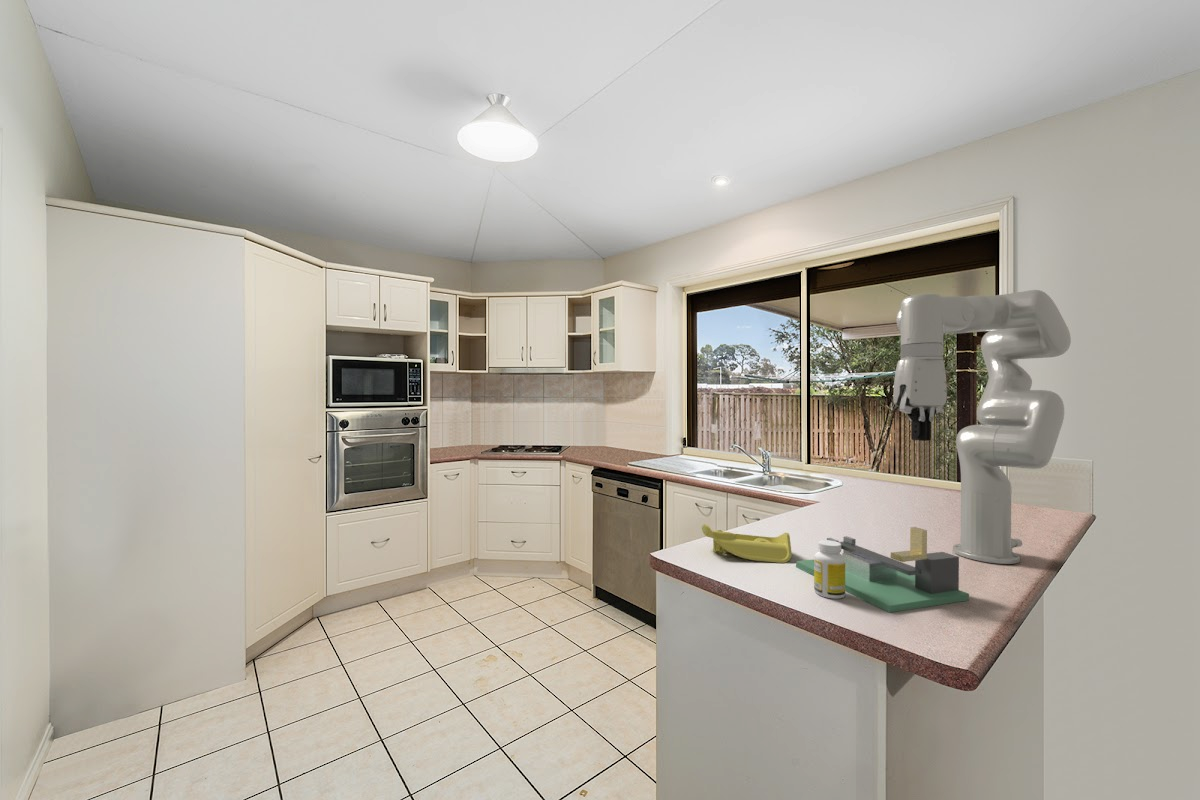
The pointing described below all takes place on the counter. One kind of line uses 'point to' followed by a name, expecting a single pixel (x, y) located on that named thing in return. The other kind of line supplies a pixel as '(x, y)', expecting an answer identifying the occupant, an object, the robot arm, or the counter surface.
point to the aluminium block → (867, 568)
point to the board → (890, 589)
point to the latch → (914, 547)
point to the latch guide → (938, 573)
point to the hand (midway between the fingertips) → (921, 440)
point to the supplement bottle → (829, 570)
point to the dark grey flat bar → (880, 559)
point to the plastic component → (751, 545)
